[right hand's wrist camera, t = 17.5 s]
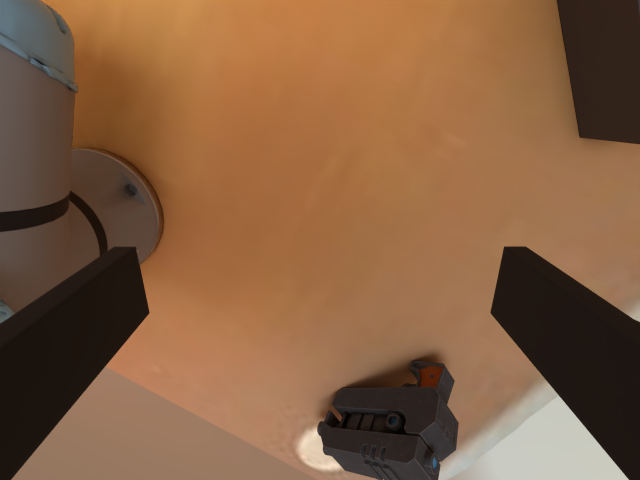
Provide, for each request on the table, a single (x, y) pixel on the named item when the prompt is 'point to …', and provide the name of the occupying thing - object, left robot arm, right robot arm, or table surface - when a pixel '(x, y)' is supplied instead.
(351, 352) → the table surface
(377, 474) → the tool
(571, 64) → the bar
